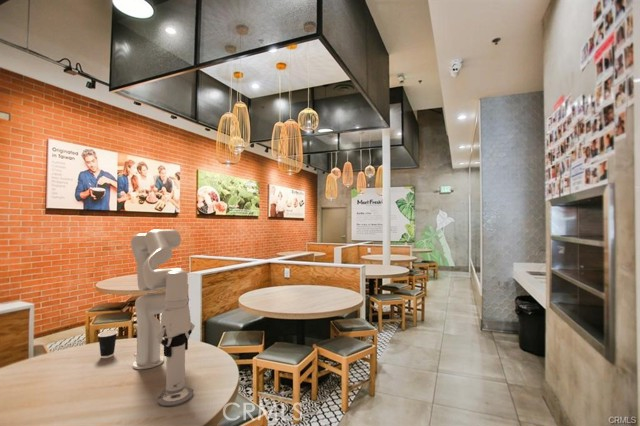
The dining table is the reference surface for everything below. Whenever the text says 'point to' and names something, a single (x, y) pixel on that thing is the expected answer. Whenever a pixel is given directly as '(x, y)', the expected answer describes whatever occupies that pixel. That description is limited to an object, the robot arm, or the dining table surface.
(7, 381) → the dining table surface
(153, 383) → the dining table surface
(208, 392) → the dining table surface
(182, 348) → the travel mug
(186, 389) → the gray rimmed disc
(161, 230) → the robot arm
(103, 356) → the dixie cup
